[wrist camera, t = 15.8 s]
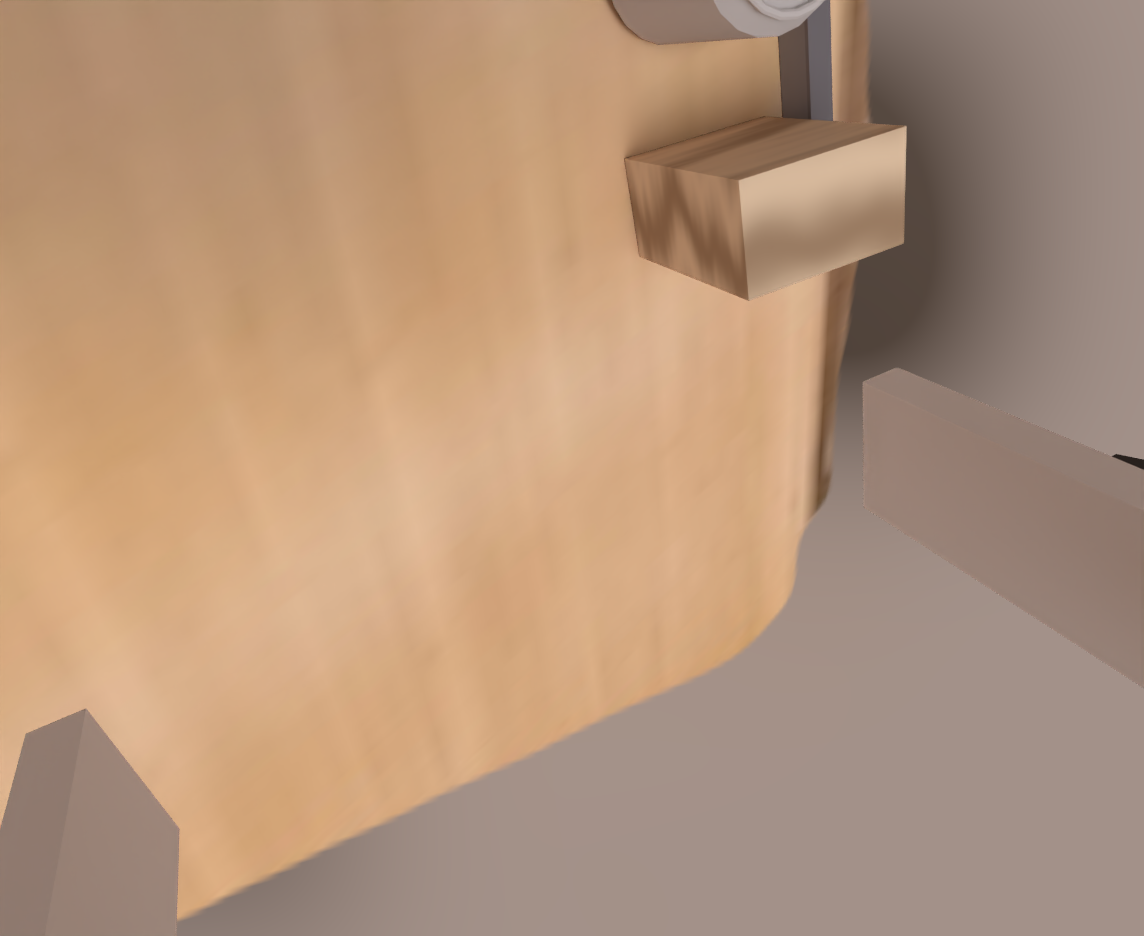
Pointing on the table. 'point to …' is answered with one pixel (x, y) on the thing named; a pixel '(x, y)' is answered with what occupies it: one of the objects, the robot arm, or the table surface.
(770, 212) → the kraft box
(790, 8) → the can
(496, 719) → the table surface
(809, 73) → the rail
